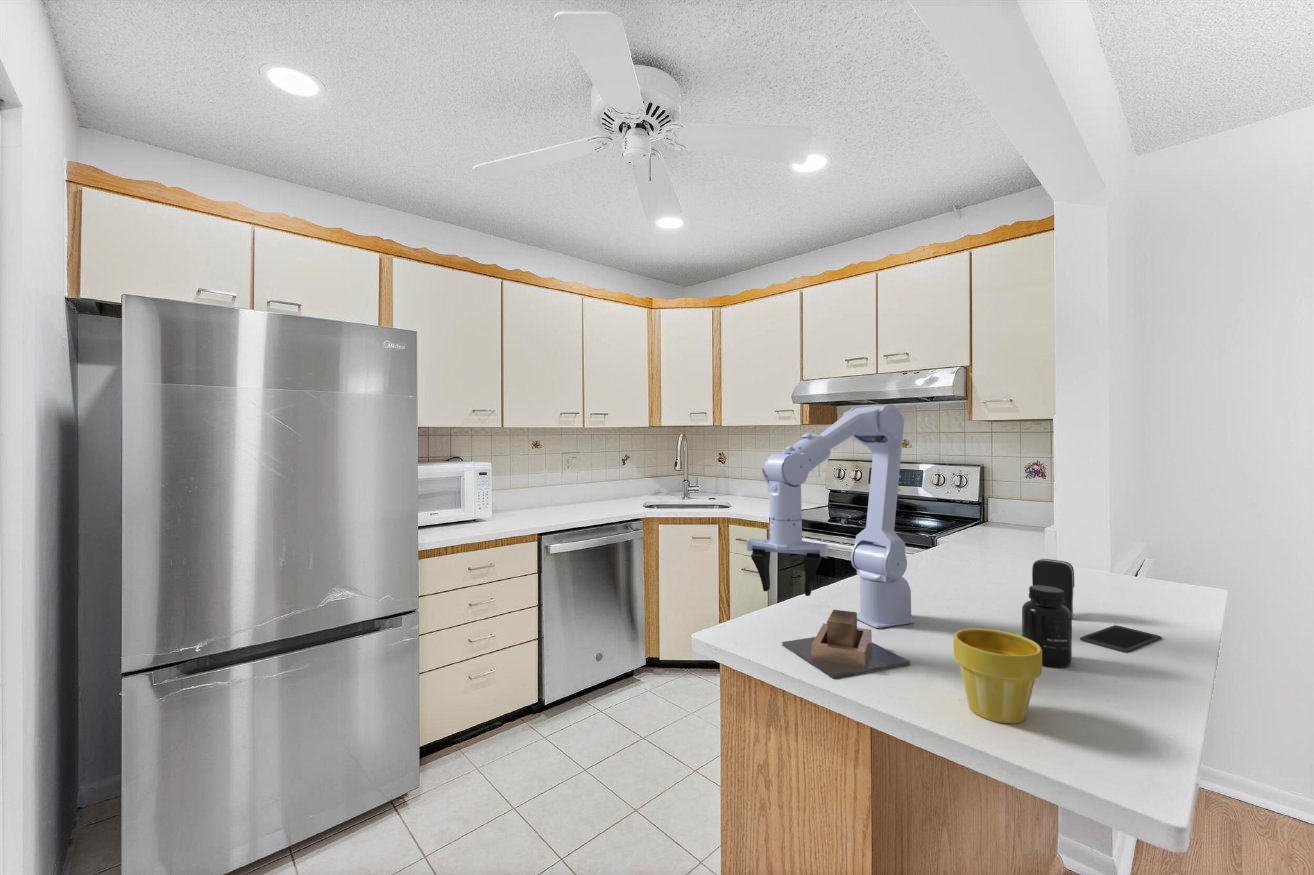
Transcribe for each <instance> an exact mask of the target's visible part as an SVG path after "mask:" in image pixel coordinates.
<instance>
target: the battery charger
mask: <svg viewBox="0 0 1314 875" xmlns="http://www.w3.org/2000/svg"><path fill="white" fill-rule="evenodd" d="M1031 571H1032V574H1031V579H1032V581H1031V583H1032V586H1033V585H1042V586H1050V587H1055V588H1059V589H1061V590H1063V591H1064V599H1065V602H1064V603H1063V605H1064V606H1065V607H1067V608H1068V609H1069V610H1070V612H1071V614H1072V619H1074V605H1073V604H1074V589H1075V569H1074V566H1073V565H1072V564H1071V563H1070V562H1069V561H1063V560H1058V559H1049V558H1039V559H1036V560H1034V562H1033V564H1032V570H1031Z"/></svg>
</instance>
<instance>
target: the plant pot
mask: <svg viewBox="0 0 1314 875" xmlns="http://www.w3.org/2000/svg"><path fill="white" fill-rule="evenodd" d="M953 657H954V660H955V662H956V663H957V664H958V665H959V667H960V673H961V677H962V681H963V685H964V691H965V694H966V700H967V705H968V707H969V710H971V711H972V712H973V713H974V714H975V715H977V716H979V717H981V718H983V719H985V720H989V721H992V722H995V723H1000V724H1008V725H1009V724H1020V723H1022V722H1023V721H1025V720H1026V717H1027V713H1028V709H1029V705H1030V701H1031V697H1032V694H1033V693H1032V692H1033V689H1034V685H1035V681H1036V680H1037V679H1039V678H1040V676H1041V675H1042V671H1043V665H1042V649H1041V647H1040V646H1039V645H1038V644H1037V643H1035V642H1034V641H1032V640H1030V639H1028V638H1025V637H1023V636H1022V635H1019V634H1016V633H1013V632H1008V631H1003V630H998V629H991V628H982V627H981V628H980V627H979V628H977V627H976V628H974V627H973V628H971V627H970V628H963V629H959V630H957V631H956V632H955V633H953Z"/></svg>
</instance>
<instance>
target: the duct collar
mask: <svg viewBox="0 0 1314 875" xmlns="http://www.w3.org/2000/svg"><path fill="white" fill-rule="evenodd" d="M872 637H873V636H872V629H868V628H862V627H861V628H860V627H857V648H851V647H844V646H837V645H831V644H827V623H822V626H820V629H819V631H818V632H817V634H816V636H813V637H806V638H805V637H804V638H799V639H793V640H786V641H782V642H781V646H783V647H784V648H786V649H788V650H789V651H790V652H792V654H795V655H796V656H798V657H800V658H801V659H802V660H804V661H805V662H807V663H808V664H810V665H811V666H813V667H814V666H815V668H816V669H817V668H818V669H817V670H819V671H820V670H821V672H822V673H823V672H824V674H825V675H827V676H828V675H829V676H828V677H829V678H831V679H833V680H834V679H838V678H839V677H840V678H845V677H846V678H847V677H850V676H849V675H851V676H857V675H861V674H867V672H868V673H872V672H878V671H877V670H879V671H882V670H883V669H884V670H888V668H890V669H894V667H895V668H899V666H901V667H904V666H905V667H906V666H910V665H911V664H910V663H911V662H910V660H908V659H906V658H904V657H902V656H900V655H898V654H896V653H894V652H893V651H891V650H888V649H886V648H884V647H882V646H880V645H878V644H876V643H875V642H873V641H872ZM856 674H857V675H856ZM840 678H839V679H840Z"/></svg>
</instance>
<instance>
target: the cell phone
mask: <svg viewBox="0 0 1314 875" xmlns="http://www.w3.org/2000/svg"><path fill="white" fill-rule="evenodd" d="M1162 639H1163V636H1161V635H1158V634H1154V633H1149V632H1146V631H1142V630H1137V629H1134V628H1129V627H1126V626H1121V625H1111V626H1109V627H1105V628H1103V629H1100V630H1097V631H1093V632H1091V633H1089V634H1086V635H1084V636H1081V637H1080V638H1079V641H1081V642H1084V643H1087V644H1091V645H1094V646H1099V647H1102V648H1106V649H1109V650H1113V651H1116V652H1120V653H1125V654H1128V653H1131V652H1134V651H1136V650H1139V649H1141V648H1144V647H1146V646H1149V645H1152V644H1154V643H1156V642H1158V641H1161V640H1162ZM1151 643H1152V644H1151Z"/></svg>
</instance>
